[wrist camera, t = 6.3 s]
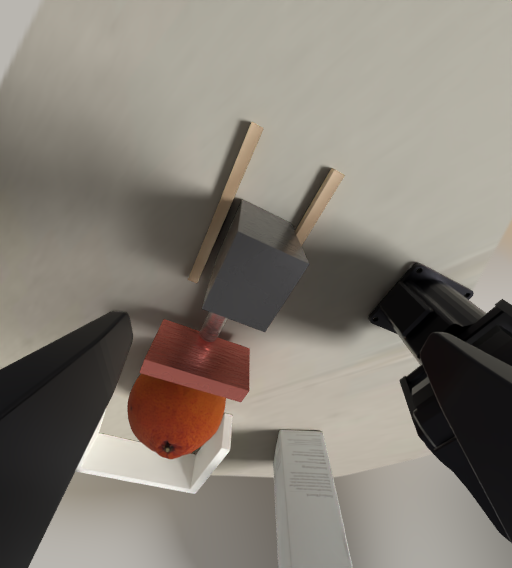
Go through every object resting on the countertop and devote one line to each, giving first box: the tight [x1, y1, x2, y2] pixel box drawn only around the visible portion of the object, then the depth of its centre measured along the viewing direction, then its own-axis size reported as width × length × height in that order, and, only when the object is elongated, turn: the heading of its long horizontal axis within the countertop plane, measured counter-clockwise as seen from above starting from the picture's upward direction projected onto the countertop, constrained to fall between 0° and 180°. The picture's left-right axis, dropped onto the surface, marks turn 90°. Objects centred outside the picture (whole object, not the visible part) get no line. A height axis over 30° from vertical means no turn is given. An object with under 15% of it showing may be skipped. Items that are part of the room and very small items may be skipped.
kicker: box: [140, 199, 309, 402], centre depth 18 cm, size 8×13×7 cm, turn 154°
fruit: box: [128, 374, 226, 459], centre depth 24 cm, size 9×9×8 cm
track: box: [188, 122, 345, 283], centre depth 19 cm, size 7×12×1 cm, turn 154°
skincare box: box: [273, 430, 353, 568], centre depth 28 cm, size 8×6×15 cm
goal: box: [76, 407, 233, 494], centre depth 30 cm, size 15×12×4 cm
